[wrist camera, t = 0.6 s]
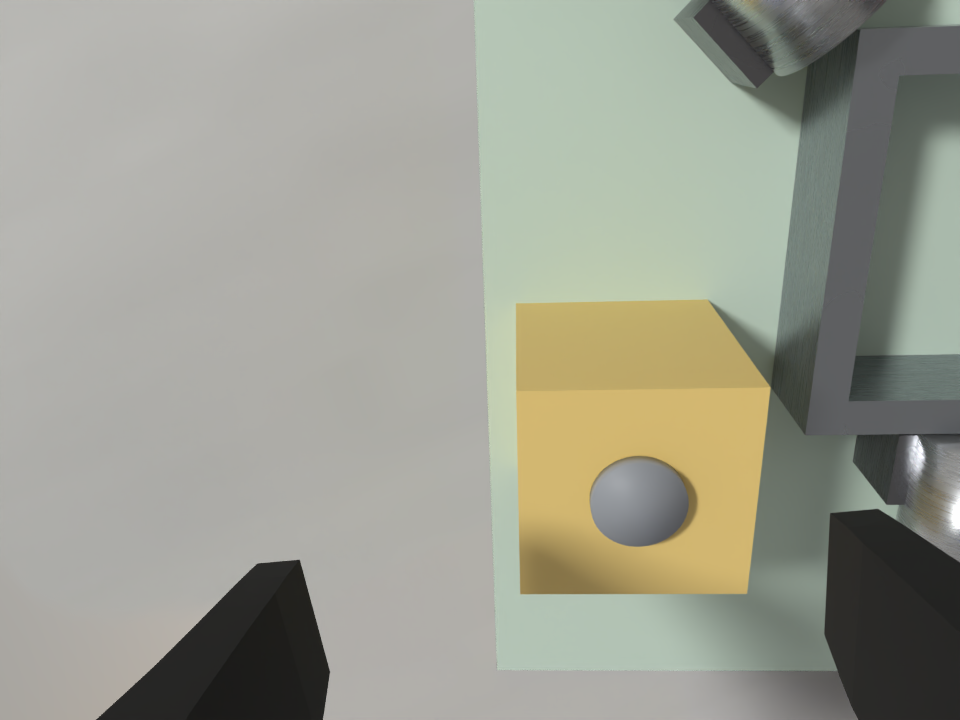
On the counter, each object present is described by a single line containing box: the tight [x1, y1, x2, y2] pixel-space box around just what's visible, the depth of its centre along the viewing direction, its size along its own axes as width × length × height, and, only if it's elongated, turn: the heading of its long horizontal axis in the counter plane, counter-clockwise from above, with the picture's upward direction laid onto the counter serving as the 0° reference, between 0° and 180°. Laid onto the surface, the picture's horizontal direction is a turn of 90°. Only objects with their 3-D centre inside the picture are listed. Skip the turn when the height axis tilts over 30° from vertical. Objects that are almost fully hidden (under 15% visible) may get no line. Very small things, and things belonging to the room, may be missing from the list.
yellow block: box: [516, 299, 771, 594], centre depth 17 cm, size 4×4×5 cm
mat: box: [474, 0, 960, 671], centre depth 19 cm, size 22×16×1 cm
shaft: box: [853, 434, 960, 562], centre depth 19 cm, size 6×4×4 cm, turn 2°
